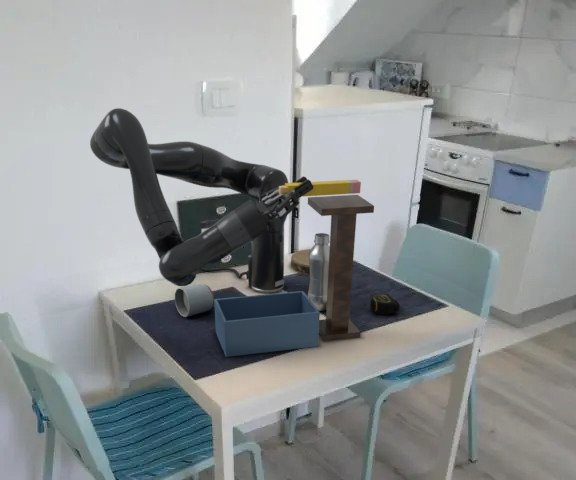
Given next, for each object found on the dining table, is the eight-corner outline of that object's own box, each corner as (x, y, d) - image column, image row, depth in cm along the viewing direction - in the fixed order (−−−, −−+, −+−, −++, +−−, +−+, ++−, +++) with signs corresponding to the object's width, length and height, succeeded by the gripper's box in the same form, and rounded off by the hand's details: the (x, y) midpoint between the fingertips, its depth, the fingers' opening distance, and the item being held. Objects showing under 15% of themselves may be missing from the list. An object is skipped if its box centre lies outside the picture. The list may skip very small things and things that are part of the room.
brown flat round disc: (348, 262, 196) (348, 253, 195) (333, 278, 184) (333, 269, 182) (301, 255, 201) (301, 246, 200) (283, 271, 188) (283, 261, 187)
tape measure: (400, 315, 162) (401, 301, 160) (376, 317, 160) (377, 304, 158) (388, 305, 168) (390, 292, 166) (365, 307, 166) (366, 294, 164)
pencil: (280, 197, 131) (281, 186, 130) (278, 195, 133) (278, 183, 132) (360, 193, 135) (360, 182, 134) (356, 190, 137) (356, 179, 136)
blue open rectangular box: (225, 357, 141) (224, 322, 136) (215, 332, 151) (214, 299, 147) (318, 346, 146) (319, 312, 141) (302, 323, 157) (303, 290, 152)
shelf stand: (315, 343, 147) (321, 208, 131) (303, 326, 155) (307, 197, 139) (362, 338, 150) (374, 205, 134) (348, 321, 158) (357, 194, 142)
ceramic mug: (216, 313, 161) (215, 285, 157) (190, 321, 156) (187, 292, 153) (195, 301, 168) (193, 274, 164) (168, 308, 163) (166, 281, 160)
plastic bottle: (324, 315, 161) (327, 240, 151) (301, 309, 164) (304, 236, 154) (335, 307, 166) (340, 234, 155) (313, 301, 169) (316, 229, 158)
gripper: (239, 221, 125) (311, 173, 124) (226, 203, 137) (292, 159, 136) (257, 250, 129) (327, 204, 129) (243, 231, 141) (307, 189, 140)
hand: (308, 182), depth 132 cm, fingers closed on pencil, 2 cm apart
